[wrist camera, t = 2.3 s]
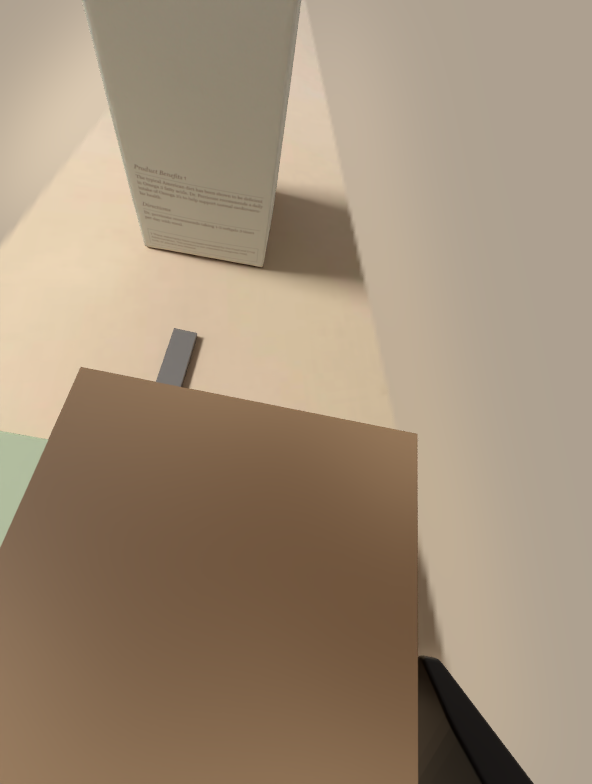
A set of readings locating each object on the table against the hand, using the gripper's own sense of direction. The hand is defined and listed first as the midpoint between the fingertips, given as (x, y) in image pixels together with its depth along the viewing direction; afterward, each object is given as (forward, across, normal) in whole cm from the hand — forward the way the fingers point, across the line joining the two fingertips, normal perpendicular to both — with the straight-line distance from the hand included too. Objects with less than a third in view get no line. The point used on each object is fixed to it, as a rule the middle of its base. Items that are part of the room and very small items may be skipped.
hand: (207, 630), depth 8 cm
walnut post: (+7, 0, +6) cm, 9 cm away
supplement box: (+21, +6, -8) cm, 24 cm away
